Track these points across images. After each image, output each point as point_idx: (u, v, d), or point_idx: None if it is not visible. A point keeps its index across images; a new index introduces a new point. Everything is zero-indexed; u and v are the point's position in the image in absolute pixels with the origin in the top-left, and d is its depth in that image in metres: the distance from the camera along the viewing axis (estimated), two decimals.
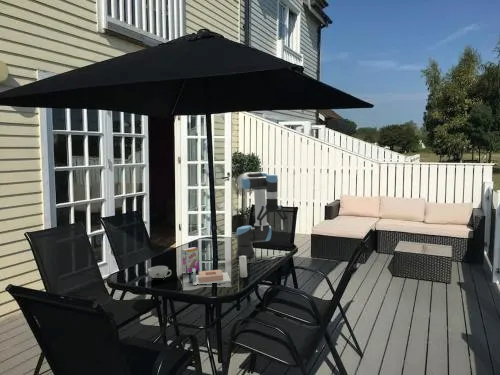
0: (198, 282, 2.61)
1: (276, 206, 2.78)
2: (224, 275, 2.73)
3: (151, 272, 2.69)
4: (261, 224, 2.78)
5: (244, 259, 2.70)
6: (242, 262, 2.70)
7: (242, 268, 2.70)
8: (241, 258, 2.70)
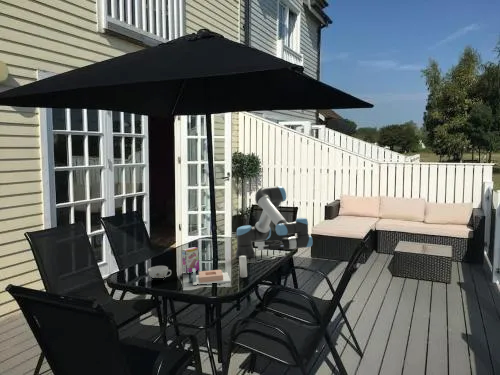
0: (198, 282, 2.61)
1: None
2: (224, 275, 2.73)
3: (151, 272, 2.69)
4: None
5: (244, 259, 2.70)
6: (242, 262, 2.70)
7: (242, 268, 2.70)
8: (241, 258, 2.70)
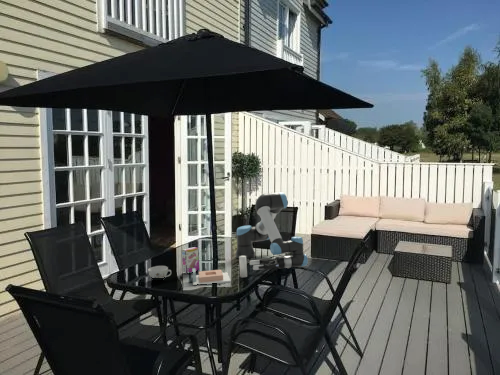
0: (198, 282, 2.61)
1: None
2: (224, 275, 2.73)
3: (151, 272, 2.69)
4: (259, 268, 2.66)
5: (244, 259, 2.70)
6: (242, 262, 2.70)
7: (242, 268, 2.70)
8: (241, 258, 2.70)
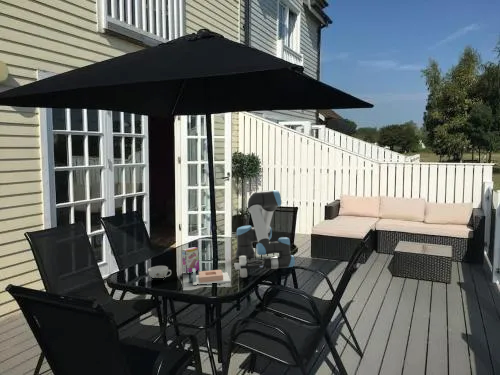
0: (198, 282, 2.61)
1: None
2: (224, 275, 2.73)
3: (151, 272, 2.69)
4: None
5: (244, 259, 2.70)
6: (242, 262, 2.70)
7: None
8: (241, 258, 2.70)
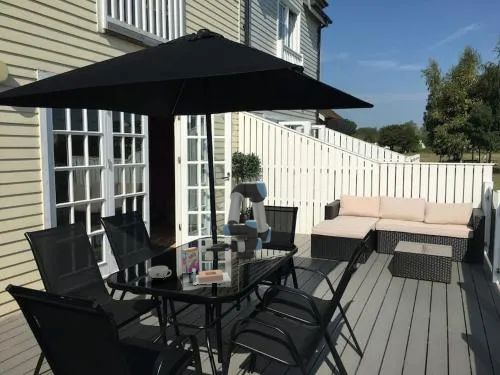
0: (198, 282, 2.61)
1: None
2: (224, 275, 2.73)
3: (151, 272, 2.69)
4: None
5: (210, 242, 2.66)
6: (208, 245, 2.66)
7: None
8: (207, 241, 2.66)
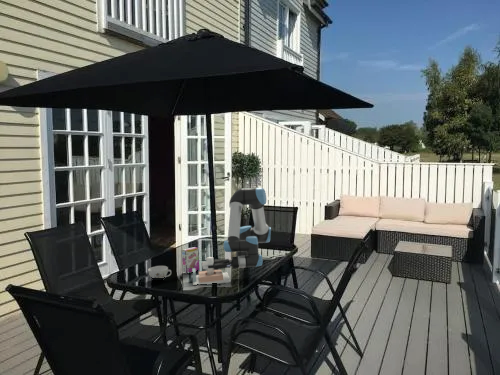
0: (198, 282, 2.61)
1: None
2: (224, 275, 2.73)
3: (151, 272, 2.69)
4: None
5: (211, 260, 2.67)
6: (209, 263, 2.66)
7: (209, 270, 2.67)
8: (208, 259, 2.66)
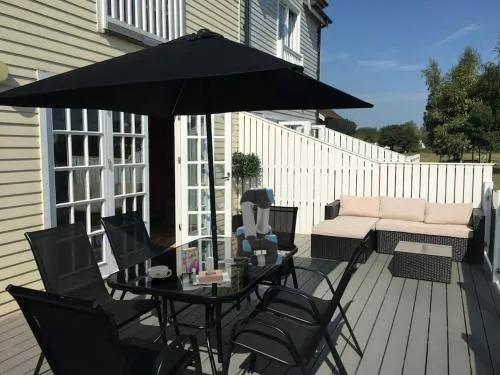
0: (198, 282, 2.61)
1: None
2: (224, 275, 2.73)
3: (151, 272, 2.69)
4: None
5: (211, 260, 2.67)
6: (209, 263, 2.67)
7: (209, 269, 2.67)
8: (208, 259, 2.67)
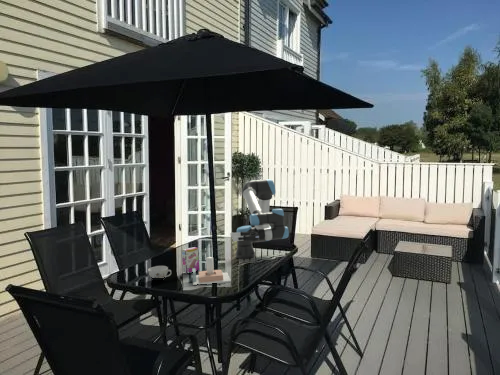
0: (198, 282, 2.61)
1: None
2: (224, 275, 2.73)
3: (151, 272, 2.69)
4: None
5: (211, 260, 2.67)
6: (209, 264, 2.66)
7: (209, 270, 2.67)
8: (208, 259, 2.66)
